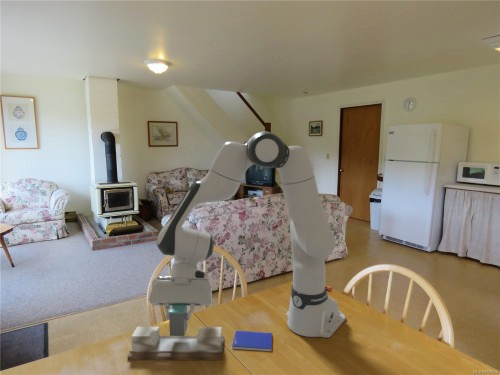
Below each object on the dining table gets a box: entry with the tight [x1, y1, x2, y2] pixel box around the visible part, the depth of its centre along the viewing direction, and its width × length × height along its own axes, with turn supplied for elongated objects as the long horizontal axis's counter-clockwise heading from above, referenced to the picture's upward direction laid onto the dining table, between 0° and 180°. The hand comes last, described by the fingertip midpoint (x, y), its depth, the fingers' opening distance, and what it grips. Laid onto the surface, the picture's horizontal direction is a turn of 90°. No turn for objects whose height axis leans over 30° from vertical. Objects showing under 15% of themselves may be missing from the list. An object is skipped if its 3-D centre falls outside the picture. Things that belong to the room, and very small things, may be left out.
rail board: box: [127, 326, 225, 361], centre depth 98 cm, size 28×10×6 cm, turn 90°
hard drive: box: [231, 330, 273, 352], centre depth 103 cm, size 2×8×12 cm
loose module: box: [168, 304, 189, 336], centre depth 100 cm, size 4×5×8 cm
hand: (178, 319), depth 99 cm, fingers closed on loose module, 4 cm apart
